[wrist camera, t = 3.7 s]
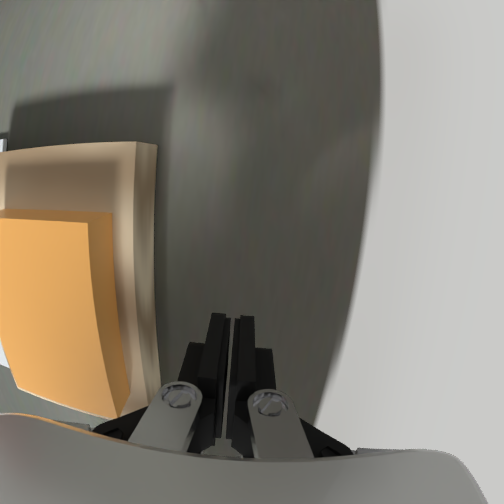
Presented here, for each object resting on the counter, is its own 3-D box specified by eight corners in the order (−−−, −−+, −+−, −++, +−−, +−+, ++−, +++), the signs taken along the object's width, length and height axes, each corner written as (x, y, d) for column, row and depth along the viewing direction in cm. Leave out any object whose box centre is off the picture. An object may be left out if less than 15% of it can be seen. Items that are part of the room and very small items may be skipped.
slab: (130, 393, 15) (118, 419, 13) (35, 367, 14) (18, 386, 12) (112, 212, 12) (87, 222, 10) (4, 208, 12) (-24, 217, 10)
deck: (162, 398, 18) (152, 429, 16) (36, 366, 18) (17, 388, 15) (157, 145, 14) (136, 141, 11) (6, 154, 14) (-26, 156, 11)
